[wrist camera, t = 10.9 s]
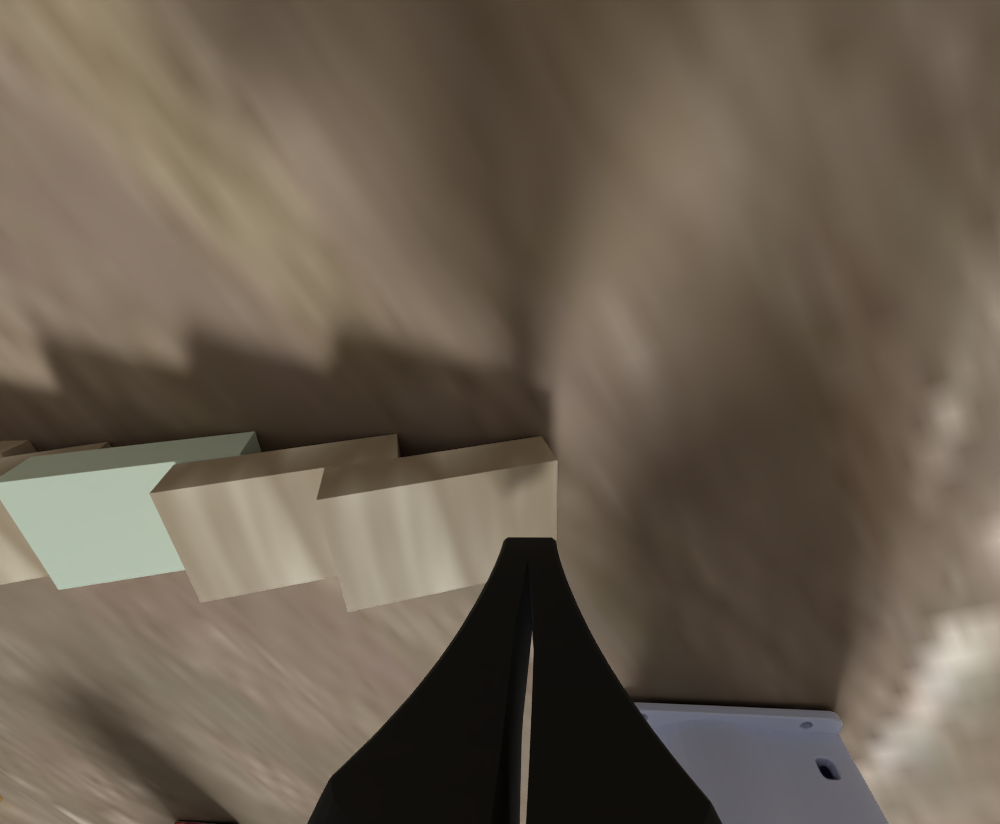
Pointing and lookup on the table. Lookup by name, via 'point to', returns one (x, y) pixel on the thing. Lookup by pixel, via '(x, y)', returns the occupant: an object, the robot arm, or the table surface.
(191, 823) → the snack box
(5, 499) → the domino
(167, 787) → the table surface
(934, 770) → the table surface
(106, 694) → the table surface
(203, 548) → the domino
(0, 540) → the domino
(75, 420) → the table surface
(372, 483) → the domino
